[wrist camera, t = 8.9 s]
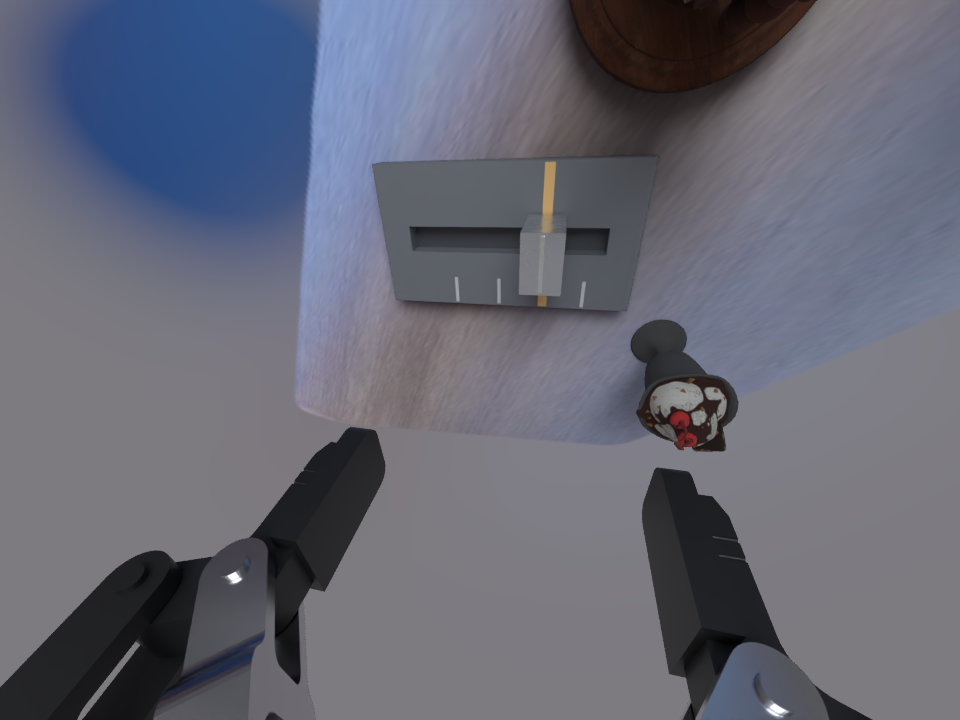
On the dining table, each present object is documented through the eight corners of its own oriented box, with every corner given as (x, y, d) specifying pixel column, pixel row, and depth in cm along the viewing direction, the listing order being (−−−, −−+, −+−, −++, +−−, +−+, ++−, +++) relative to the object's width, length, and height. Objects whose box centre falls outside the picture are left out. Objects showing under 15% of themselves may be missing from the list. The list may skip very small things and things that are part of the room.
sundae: (621, 314, 34) (651, 421, 22) (700, 308, 32) (781, 421, 20) (620, 371, 37) (645, 491, 25) (691, 368, 36) (756, 496, 23)
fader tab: (566, 210, 29) (566, 233, 23) (561, 263, 32) (560, 297, 26) (529, 210, 30) (519, 233, 24) (528, 262, 32) (518, 295, 26)
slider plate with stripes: (653, 154, 27) (658, 156, 25) (624, 302, 33) (627, 311, 32) (382, 162, 31) (371, 164, 29) (403, 292, 38) (395, 300, 36)
